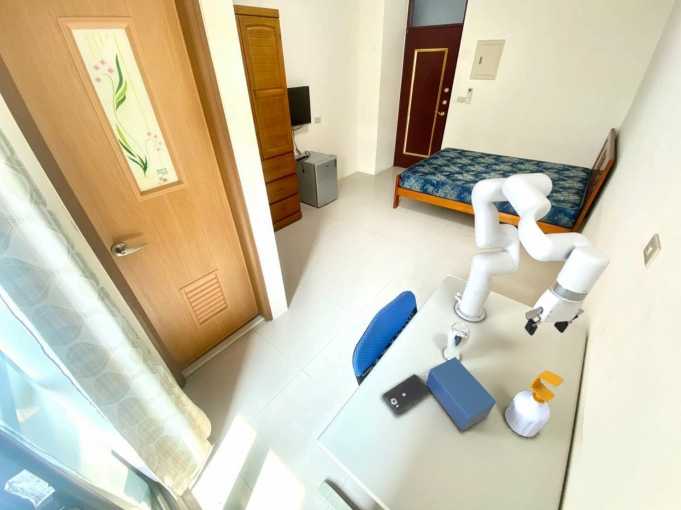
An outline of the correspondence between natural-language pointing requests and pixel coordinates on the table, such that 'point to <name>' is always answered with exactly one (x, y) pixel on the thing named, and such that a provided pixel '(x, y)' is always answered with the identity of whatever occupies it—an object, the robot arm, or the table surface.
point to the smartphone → (406, 394)
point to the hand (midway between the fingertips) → (543, 330)
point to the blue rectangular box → (459, 393)
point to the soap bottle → (532, 406)
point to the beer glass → (456, 340)
